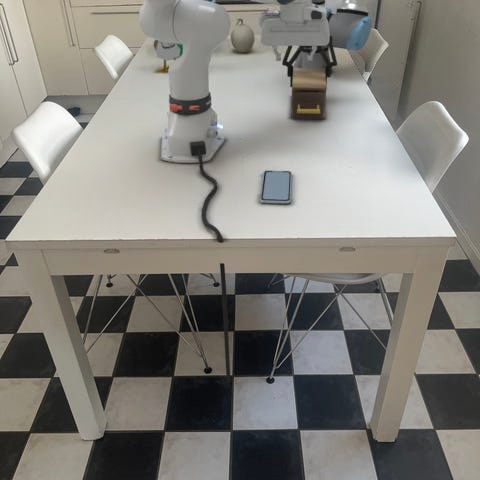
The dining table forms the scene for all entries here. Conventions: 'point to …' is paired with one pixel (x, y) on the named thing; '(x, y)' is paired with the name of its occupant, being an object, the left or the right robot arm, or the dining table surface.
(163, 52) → the toy
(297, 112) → the drawer
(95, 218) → the dining table surface
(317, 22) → the left robot arm
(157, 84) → the dining table surface
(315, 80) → the open wooden box
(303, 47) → the right robot arm
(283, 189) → the smartphone
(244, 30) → the fruit
